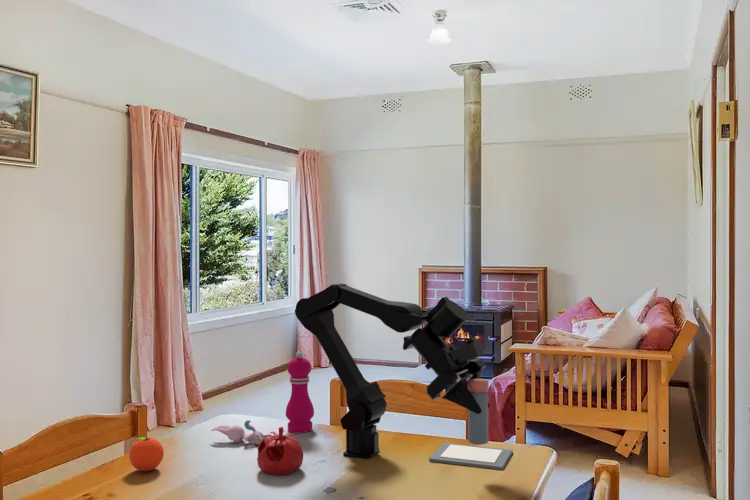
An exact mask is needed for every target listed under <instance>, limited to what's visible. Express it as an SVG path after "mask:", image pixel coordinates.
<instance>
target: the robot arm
mask: <svg viewBox="0 0 750 500" xmlns="http://www.w3.org/2000/svg"><path fill="white" fill-rule="evenodd" d="M340 305H344V306H346V307H349V308H352V309H354V310H357V311H359V312H363V313H364V314H367V315H369V316H373V317H375V318H377V319H379V320H380V321H381V322H382V323H383V324H384V326H386V327H388V328H389V329H391V330H393V331H394V332H397V333H407V332H410V331H413V330H415V331H414V332H413V333H411V335H406V336H404V337H403V345H402V350H403V351H406V350H409V349H413V348H414V349H415V350H416V352H417V353H418V354H419V355H420V357H422V359H423V360H424V361H425V362H426V364H425V365H424V367H425V368H426V369H427V370H432V371H433V372H434V373H435V374H436V377H434V379H433V380H432V381H431V382H430V383H429V384H428V385H427V386H426V394H427V396H428V397H429V398H430V399H431V401H434V400H437V399H438V398H440V397H441V393H442V392H445V394H444V395H443V396H442V397H441V399H442V400H447V401H449V402H452V403H453V404H456V405H458V406H459V407H463V408H464V409H466V410H467V411H468V410H470V411H472V412H474V413H476V414H480V413H481V412H482V409H481V408H480V406H479V405H478V403H477V402H476V400H475V399H474V397H473V396H472V394H471V393H470V391H469V390H468V380H469V379H481V375H482V371H484V369H485V368H486V367H487V364H486V363H485V362H484V360H483V359H481V358H480V357H482V356H484V355H485V351H484V343H482V342H481V340H480V339H479V340H478V339H477V338H476V337H472V338H469V339H467V340H466V341H465V345H463V346H461V347H458V348H457V347H455V346H454V345H448V344H447V343H446V342H445V341H444V339H442V338H448V339H449V338H451V337H452V335H453V334H454V333H456V331H457V330H459V329H460V328H461V326H462V325H463V324H464V323H465V322H466V321H468V319H469V316H468V314H467V312H466V310H465V309H464V308H463V307H462V306H461V305H459V304H458V303H456V302H455V301H453V300H450V299H449V298H448V297H447V296H445V297H441V298H440V299H439V301H437V303H436V304H435V306H434V307H433V308H432V309H431V310H430V311H429V310H425V309H422V307H421V306H419V304H417V303H411V302H405V301H397V300H395V301H393V300H388V299H385V298H382V297H379V296H376V295H374V294H371V293H368V292H365V291H363V290H360V289H357V288H354V287H352V286H349V285H347V284H346V283H333V284H330V285H329V286H328V287H326V288H324V289H323V290H320V291H319V292H317V293H315V294H312V295H311V296H309V297H304V298H301V299H299V300H298V301H297V303H296V305H295V309H294V314H295V315H294V316H295V317H296V319H297V320H298V321H299V322H300V324H301V325H302V326H303V328H304V329H306V330H307V331H308V332H310V333H311V334H312V335H314V336H315V338H316V339H317V341H318V342H319V344H320V346H321V348H322V349H323V351H324V353H325V355H326V357H327V359H328V360H329V362H330V364H331V366H332V367H333V369H334V371H335V372H336V373H335V374H336V375H337V376H338V379H339V380H340V382H341V383H342V386H343V387H344V390H345V398H346V399H345V400H346V405H347V408H348V411H347V412H346V413H345V414H344V415H343V416H342V417H341V418H340V424H341V427H342V429H343V430H345V446H346V447H345V451H343V453H342V455H343V456H349V457H357V458H364V459H365V458H366V459H370V458H371V457H373V456H374V455H375V454H376V453H378V452H380V445H379V442H380V441H379V432H378V431H377V425H376V424H379V423H380V422H381V419H382V416H384V414H385V412H386V410H387V404H388V403H387V401H386V399H385V398H386V396H387V395H386V394H384V392H383V391H382V390H381V388H380V384H379V383H378V382H377V381H374V382H369V381H368V380H366V379H365V378H364V375H363V374H362V372H361V370H360V369H359V366H358V365H357V363H356V362H355V360H354V358H353V356H352V355H351V353H350V351H349V349H348V348H347V345H345V342H344V340H343V339H342V337H341V335H340V334H339V331H338V330H337V329H336V326H335V314H334V311H333V310H335V309H336V308H338V307H339V306H340ZM423 324H425V325H424V327H422V328H421V326H422V325H423ZM490 407H491V404H490V402H489V401H488V409H490Z"/></svg>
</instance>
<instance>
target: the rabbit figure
mask: <svg viewBox="0 0 750 500" xmlns="http://www.w3.org/2000/svg"><path fill="white" fill-rule="evenodd" d="M251 422H252V421H251V420H249V419H247V420H245V421H244V427H245V429H246V430H247V431H252V432H251V433H248V434H247V433H246V432H245V429H244V428H243V427H242V426H240V425H237V424H236V425H232V426H231V425H227V424H226V425H225V424H222V425H221V424H220V425H219V426H215V427H214V428H212V429H210V431H211V432H214V431H217V432H219V433H221V434H223V435H225V436H227V438H228V440H230V441H233V442H235V443H237V444H240V443H241V442H243V441H245V442H248V443H253V444H255V445H256V446H259V444H260V443H261V441H262V440H263V439H264V438H266V437H268V436H265V435H266V434H263V433H262V432H261V431H258V430H256V428H255V426H254V425H251V424H250V423H251ZM262 436H263V437H262Z"/></svg>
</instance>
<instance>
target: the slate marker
mask: <svg viewBox="0 0 750 500" xmlns="http://www.w3.org/2000/svg"><path fill="white" fill-rule="evenodd" d="M468 390H469V391H470V393H471V394H472V396H473V397H474V399H475V400H476V402H477V403H478V405H479V406H480V408H481V409H482V412H481V413H480V414H476V413H474V412H472V411H470V410H468V409H467V412H468V413H467V414H468V415H467V416H468V417H467V418H468V419H467V420H468V422H467V425H468V427H467V429H468V430H467V431H468V433H467V435H468V436H467V437H468V441H467V443H470V444H473V445H477V446H481V445H487V444H488V443H489V408H488V402H489V380H488V379H484V378H480V379H469V380H468Z"/></svg>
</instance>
